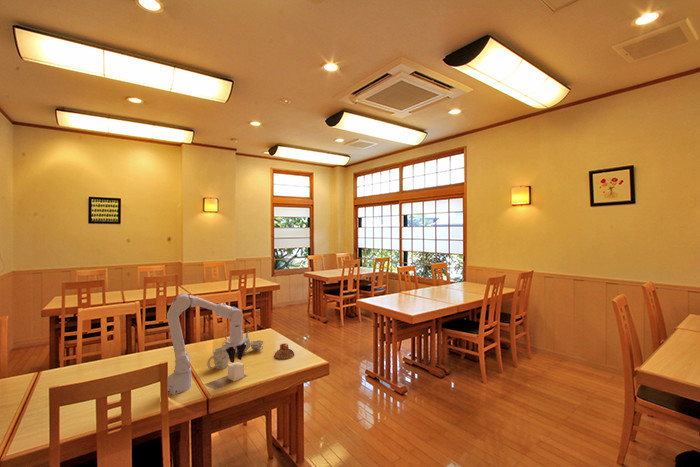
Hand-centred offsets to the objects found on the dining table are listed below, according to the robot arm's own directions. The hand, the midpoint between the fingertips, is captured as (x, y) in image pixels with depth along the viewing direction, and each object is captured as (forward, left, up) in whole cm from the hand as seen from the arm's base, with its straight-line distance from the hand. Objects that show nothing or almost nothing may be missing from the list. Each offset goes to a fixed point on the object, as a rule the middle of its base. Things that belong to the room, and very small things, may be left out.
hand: (235, 360), depth 159 cm
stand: (-4, +2, -9) cm, 10 cm away
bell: (+37, +5, -10) cm, 38 cm away
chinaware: (+26, +33, -10) cm, 43 cm away
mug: (+2, +18, -10) cm, 21 cm away
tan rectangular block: (0, 0, -8) cm, 8 cm away
